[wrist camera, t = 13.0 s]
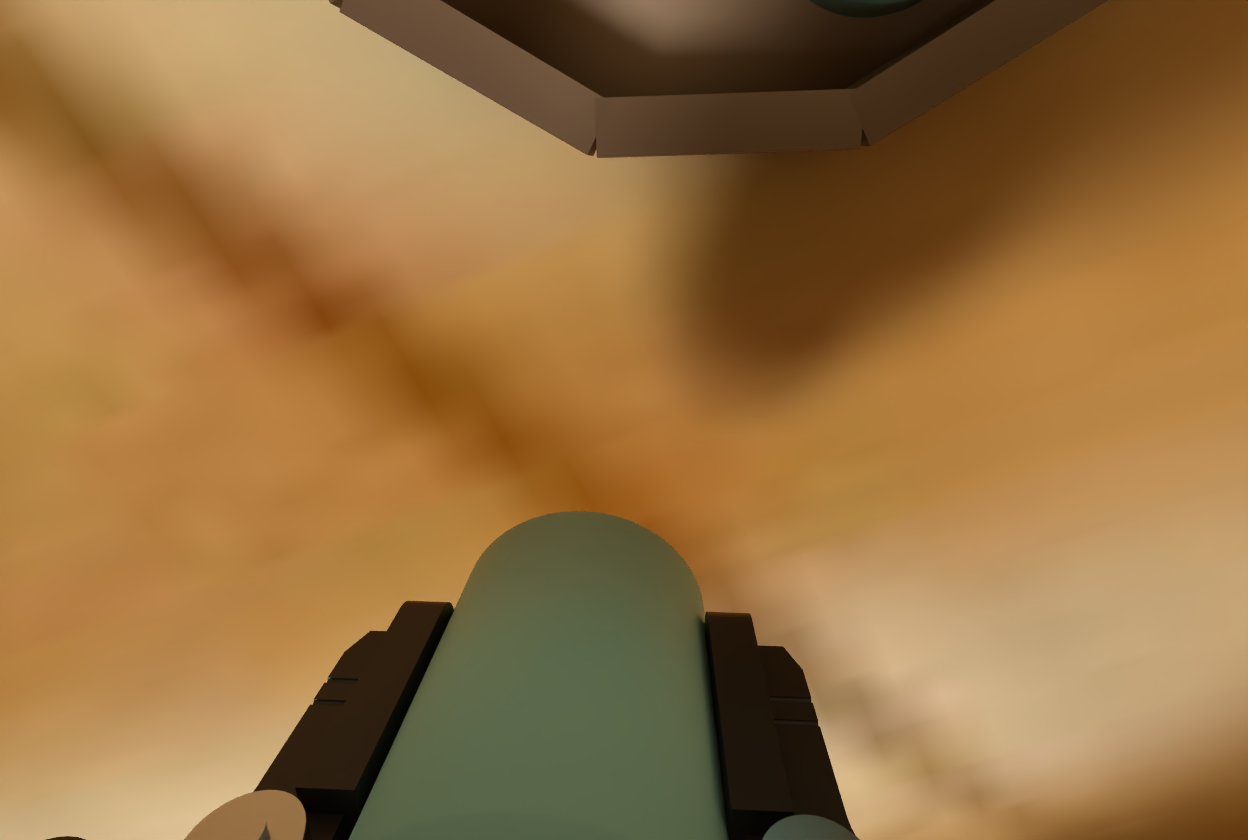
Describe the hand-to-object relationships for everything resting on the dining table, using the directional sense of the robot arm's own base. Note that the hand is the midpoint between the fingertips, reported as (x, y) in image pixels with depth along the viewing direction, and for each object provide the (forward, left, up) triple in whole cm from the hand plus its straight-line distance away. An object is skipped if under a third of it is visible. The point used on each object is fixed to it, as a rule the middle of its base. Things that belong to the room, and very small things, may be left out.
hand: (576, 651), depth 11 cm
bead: (0, 0, -1) cm, 1 cm away
